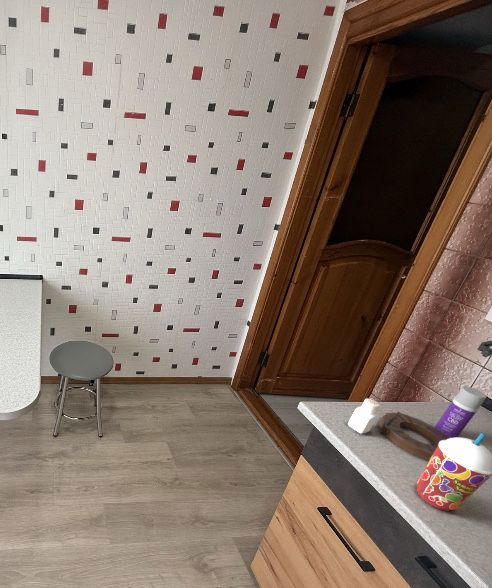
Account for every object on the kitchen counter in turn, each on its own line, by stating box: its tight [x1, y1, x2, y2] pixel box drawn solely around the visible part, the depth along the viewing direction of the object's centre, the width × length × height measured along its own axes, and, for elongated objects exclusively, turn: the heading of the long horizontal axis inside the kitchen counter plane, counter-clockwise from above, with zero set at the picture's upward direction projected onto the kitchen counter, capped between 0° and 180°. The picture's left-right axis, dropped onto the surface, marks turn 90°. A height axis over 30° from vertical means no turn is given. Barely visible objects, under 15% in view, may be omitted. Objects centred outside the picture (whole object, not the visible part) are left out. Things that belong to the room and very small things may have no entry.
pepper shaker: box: [347, 398, 381, 435], centre depth 92 cm, size 4×4×10 cm
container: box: [434, 386, 487, 438], centre depth 92 cm, size 5×5×15 cm
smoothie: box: [416, 432, 492, 512], centre depth 71 cm, size 8×8×20 cm
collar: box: [378, 411, 449, 462], centre depth 91 cm, size 15×15×2 cm
